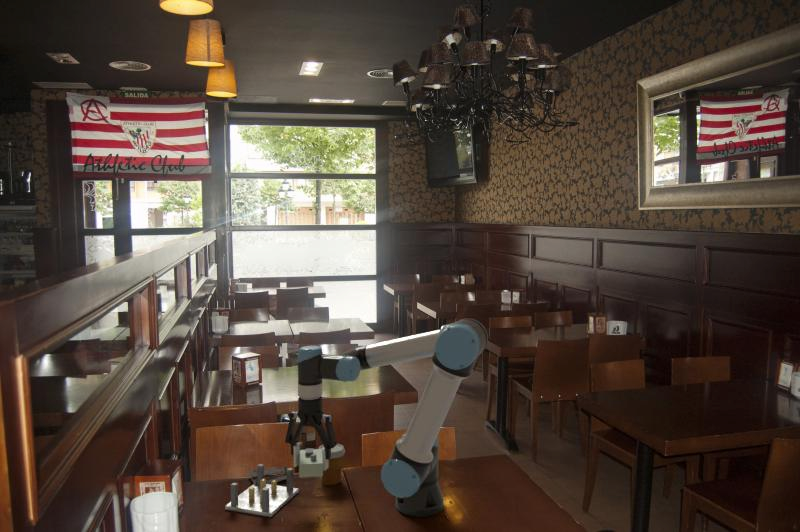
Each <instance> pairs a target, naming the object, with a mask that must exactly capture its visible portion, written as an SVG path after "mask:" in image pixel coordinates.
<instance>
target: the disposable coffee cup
mask: <svg viewBox="0 0 800 532" xmlns="http://www.w3.org/2000/svg"><path fill="white" fill-rule="evenodd" d="M318 449H322V460H323V449H324V445H323V444H322V445H320V446H319V447H318ZM345 453H346V450H345V448H344V445H343V444H340V443H337V445H336V446H335V447H334V448H331V458H330V459H329V468H327V469H326V470H325V471H323V476H321V482H322V484H324V485H326V486H336V485H338V484H339V483H341V479H342V471H343V462H344V455H345Z"/></svg>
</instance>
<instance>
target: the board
mask: <svg viewBox="0 0 800 532" xmlns="http://www.w3.org/2000/svg"><path fill="white" fill-rule="evenodd" d="M298 466H299V469H298V470H299V472H298V473H299V478H314V477H315V478H316V477H322V476H323V460H322V449H319V448H313V447H311V448H310V447H309V448H305V449H300V460H299V465H298Z"/></svg>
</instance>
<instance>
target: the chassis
mask: <svg viewBox="0 0 800 532" xmlns="http://www.w3.org/2000/svg"><path fill="white" fill-rule="evenodd" d="M256 468H257V469H256V471H257V478H256V481H257V484H255V483H254V482H253V484H252V485H251V486H249V487H248V488H247V489H245V490H244V491H243V492H241V493H240V494H239V483H238V482H232V483H231V484H230V502H228V503H227V504H225V507H224V508H225V510H227V511H232V512H233V511H234V512H239V513H245V514H251V515H256V516H261V517H262V516H263V517H267V516H268V517H269V518H272V517H273V516H275V514H276V513H277V512H278V511H280V508H281V507H282V508H283V507H284V506H285V505H287V503H288V502H290V501H291V500H292V499H293V498H294V496H296V495H297V494H298V493H299V488H297V487H294V467H293V468H292V467H287V470H286V473H287V479H286V486H284V485H283V486H282V485H278V482H277V481H276V480H272V481H271V483H270V484H266V478H265V475H264V469H265V464H264V463H258V464H257V465H256ZM264 478H265V479H264ZM283 505H284V506H283ZM282 508H281V509H282Z"/></svg>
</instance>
